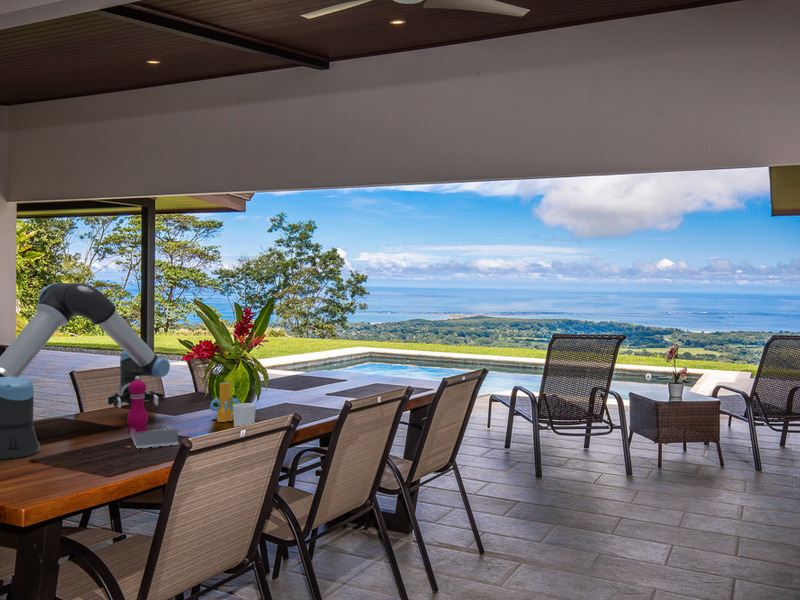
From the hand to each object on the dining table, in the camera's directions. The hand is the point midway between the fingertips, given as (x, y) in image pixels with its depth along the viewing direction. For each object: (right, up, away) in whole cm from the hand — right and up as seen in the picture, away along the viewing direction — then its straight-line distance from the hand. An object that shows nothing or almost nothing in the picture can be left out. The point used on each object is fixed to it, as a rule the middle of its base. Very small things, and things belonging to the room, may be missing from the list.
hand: (138, 402), depth 237 cm
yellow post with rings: (+25, -11, +22) cm, 35 cm away
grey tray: (+9, -11, -10) cm, 17 cm away
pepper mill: (-2, -11, +4) cm, 12 cm away
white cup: (+37, -11, +3) cm, 39 cm away
